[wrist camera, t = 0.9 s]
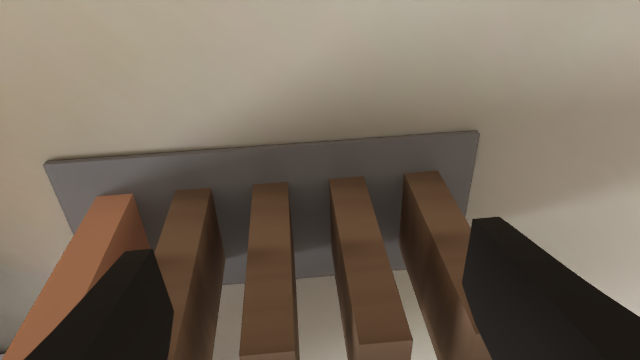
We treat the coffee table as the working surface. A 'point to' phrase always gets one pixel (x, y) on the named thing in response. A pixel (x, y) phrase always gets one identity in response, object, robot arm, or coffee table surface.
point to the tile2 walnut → (365, 277)
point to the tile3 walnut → (270, 279)
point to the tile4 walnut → (192, 272)
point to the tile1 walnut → (439, 265)
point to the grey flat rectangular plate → (272, 167)
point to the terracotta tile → (81, 267)
